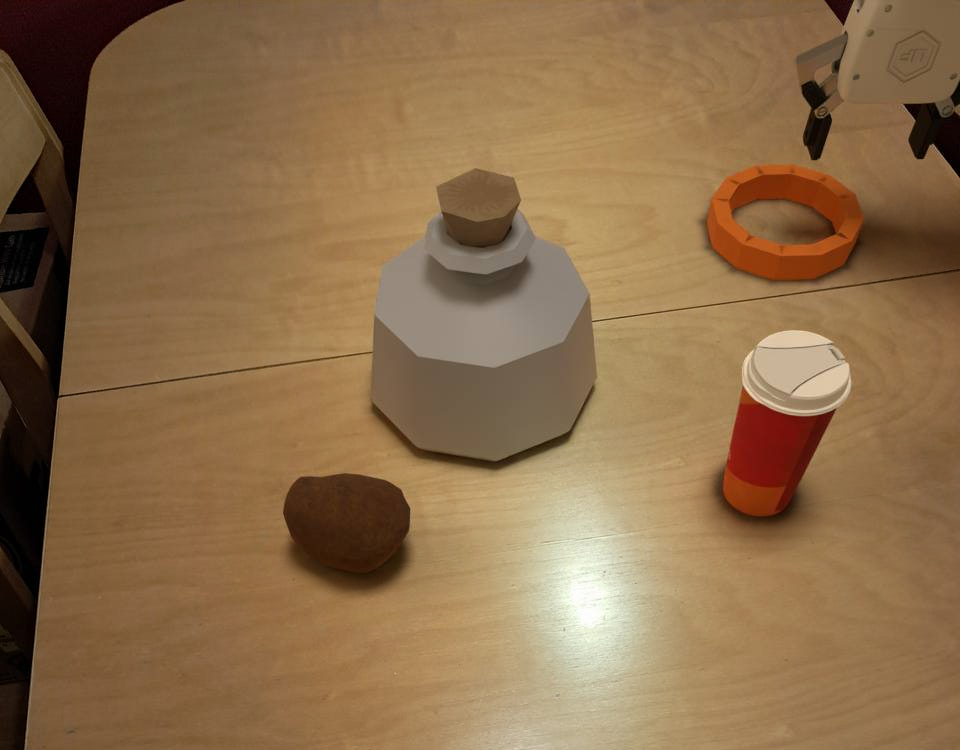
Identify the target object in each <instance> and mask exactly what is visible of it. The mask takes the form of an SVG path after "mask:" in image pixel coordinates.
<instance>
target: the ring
mask: <svg viewBox="0 0 960 750" xmlns="http://www.w3.org/2000/svg"><path fill="white" fill-rule="evenodd" d="M782 199H784V200H788V201H791V202H795V203H799V204H802V205H805V206H809V207H812V208H813V209H815V210H816V211H817V212H819V213H820V214H821V215H822V216H823V217H825V218H826V219H828V220H829V221H830V222H832V226H833V228H834V232H835V234H833V235H831V236H829V237H826V238H824V239H822V240H820V241H818V242H815V243H812V244H811V243H810V244H809V243H808V244H807V243H805V244H780V243H776V242H774V241H771V240H768V239H764V238H760V237H757V236H755V235H753V234H751V233H750V232H749V231H747V230H746V229H745V228H744V227H743V226H741V225H740V224H739V223H738V222H736V221H735V220H734V218H733V217H734V216H733V215H732V213H733V211H734V210H735V209H737V208H740V207H742V206H744V205H746V204H749V203H751V202H753V201H756V200H782ZM864 220H865V217H864V214H863V211H862V209H861V205H860V203H859V200H858V197H857V195H856V193H855V192H853V191H852V190H850V189H849V188H848V187H846V186H845V185H844V184H843V183H841V182H840V181H838V180H837V179H835V178H834V177H833V176H832V175H830V174H829V173H825V172H821V171H817V170H814V169H810V168H806V167H803V166H799V165H797V164H792V163H791V164H759V165H757V164H756V165H753V166H751V167H749V168H745V169H743V170H741V171H739V172H736V173H734V174H732V175H729V176H727V177H725V178H724V180H723V182H722V183H721V184H720V185H719V187H718V189H717V190H716V192H715V193H714V194H713V196H712V198H711V201H710V206H709V211H708V215H707V221H706V227H707V230H708V235H709V240H710V244H711V247H712V249H714V251H716V252H717V253H718V254H719V255H720V256H722V257H723V258H724V259H725V260H726V261H727V262H728V263H730V264H731V265H732V266H733V267H734V268H735V269H738V270H739V271H744V272H747V273H749V274H753V275H756V276H759V277H763V278H766V279H768V280H772V281H797V280H798V281H799V280H800V281H801V280H803V281H804V280H815V279H818V278H819V277H822V276H824V275H826V274H828V273H830V272H832V271H835V270H836V269H839V268H841V267H843V266H844V265H845V263H846V261H847V260H848V258H849V256H850V255H851V253H852V250H853V249H854V247H855V245H856V243H857V241H858V237H859V234H860V231H861V229H862V226H863V224H864Z"/></svg>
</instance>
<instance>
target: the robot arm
mask: <svg viewBox="0 0 960 750" xmlns="http://www.w3.org/2000/svg"><path fill="white" fill-rule="evenodd" d="M793 64H794V68H795V72H796V77H797V81H798V86H799V90H800V92H801V94H802V97H803V99H804V100H805V101H806V102H807V104H808V105H809V107H810V110H809V113H808V118H807V121H806V123H805V126H804V131H803V134H802V143H803V145H804V147H806V148H807V151H808V154H809V157H810V161H818V160H819V159H821V157H822V155H823V151H824V149H825V145H826V143H827V140H828V137H829V136H828V135H829V133H830V130H831V127H832V124H833V118H832V115H831V113H832V112H833V111H834V110H836V109H837V108H838V107H839V106H840V105H841V104H843V103H844V102H847V103H850V104H853V105H854V104H856V105H908V104H909V105H913V104H919V105H920V104H921V106H920V109H919V111H918V114H917V116H916V118H915V121H914V123H913V126H912V129H911V131H910V134H909V136H908V138H907V141H908V145H909V147H910V149H911V152H912V154H913V156H914V158H916V160H924V159H925V157H926V155H927V152H928V150H929V149H930V146H932V145H934V143H935V141H936V139H937V136H938V134H939V132H940V129H941V128H942V125H943V123H944V120H945V118H948V117H950V116H952V115H953V113H954V112H955V109H956V107H958V106H959V105H960V0H853V2H852V4H851V6H850V9H849V12H848V15H847V17H846V20H845V22H844V25H843V27H842V30H841V32H840V35H838V36H836V37H834V38H831V39H830V40H827V41H826V42H824V43H822V44H821V43H820V44H819V45H817V46H814V47H813V48H811V49H808V50H807V51H804V52H802V53H800V54H798V55H796V57H795V58H794V60H793ZM830 64H831V65H830ZM828 65H830V70H831V73H830V74H829V75H828V76H827V77H825V79H823V80H822V81H821V82H820V83H819V84H818V83H817V81H816V80H815V73H816V71H817V70H819V69H821V68H823V67H826V66H828Z"/></svg>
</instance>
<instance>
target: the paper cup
mask: <svg viewBox="0 0 960 750" xmlns="http://www.w3.org/2000/svg"><path fill="white" fill-rule="evenodd" d="M846 358H847V357H845V355H844V354H843V353H842V352H841V350H840V349H839V348H838V347H835V343H834V341H832V340H830V339H829V338H827V337H825V336H823V335H820V334H818V333H815V332H811V331H807V330H801V329H799V330H798V329H791V330H781V331H778V332H775V333H772V334H769V335H768V336H766V337H764V338H763V339H762V340H760V342H758V343H757V344H756V346H755V347H754V348H753V349H752V350H750V352H749V353H748V354H747V356H746V357H745V358H744V361H743V363H742V367H741V384H742V388H741V391H740V397H739V401H738V407H737V410H736V416H735V421H734V425H733V429H732V435H731V439H730V443H729V447H728V448H729V449H728V453H727V460H726V463H725V464H726V465H725V469H724V474H723V479H722V493H723V495H724V498H725V500H726V501H727V502H728V503H729V504H730V505H731V506H732V507H733V508H734V509H736V510H737V511H739V512H741V513H743V514H746V515H749V516H752V517H753V516H754V517H770V516H773V515H776V514H778V513H780V512H783V510H784V509H785V508H787V506H788V504H789V503H790V502H791V500H792V498H793V496H794V494H795V492H796V491H797V488H798V486H799V484H800V483H801V481H802V480H803V479H802V478H803V477H804V475H805V473H806V471H807V469H808V467H809V465H810V463H811V461H812V459H813V457H814V455H815V453H816V452H817V449H818V447H819V445H820V443H821V441H822V439H823V437H824V435H825V433H826V431H827V429H828V427H829V425H830V423H831V421H832V419H833V417H834V415H835V413H836V411H837V409H838V407H840V406H841V405H843V403H844V402H845V401H846V400H847V398H848V397H849V395H850V393H851V389H852V377H851V368H850V363H849V362H846Z"/></svg>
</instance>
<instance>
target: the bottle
mask: <svg viewBox="0 0 960 750" xmlns="http://www.w3.org/2000/svg"><path fill="white" fill-rule="evenodd" d="M435 190H436V194H437V198H438V202H439V207H440V212H438V213H437V214H436V215H434V216H433V217H432V218H431V219H430V221H428V223H427V224H426V230H425V235H424V236H423V237H421V238H420V239H419V240H417V241H415V242H414V243H413V244H411V245H410V246H407V248H405V249H404V250H402V251H401V252H399V253H398V254H396V255H394V256H393V257H392V258H391V259H389V260H387V261H386V262H385V263H383V264H382V265H381V271H380V276H379V284H378V290H377V295H376V301H375V307H374V312H373V313H374V314H373V333H372V335H373V336H372V356H371V358H372V360H371V375H370V376H371V378H370V401H371V402H372V403H373V404H374V405H375V406H376V407H377V408H378V409H379V410H380V411H381V412H382V413H383V415H385V416H386V417H387V419H388V420H389V421H391V422H392V424H393V425H394V426H395V427H396V428H397V429H398V430H399V431H400V432H401V433H402V434H403V435H404V436H405V437H406V438H407V439H408V440H409V441H410V442H411V443H412V445H414V447H416V448H417V449H420V450H422V451H425V452H433V453H439V454H445V455H450V456H456V457H457V456H458V457H464V458H469V459H475V460H481V461H486V462H487V461H489V462H494V463H496V462H499V461H501V460H504V459H506V458H509V457H511V456H514V455H516V454H519V453H521V452H524V451H526V450H529V449H531V448H534V447H537V446H538V445H541V444H543V443H546V442H549V441H551V440H554V439H556V438H558V437H562V436H563V435H565V434H567V433H569V432H570V431H571V430H572V427H573V425H574V423H575V422H576V420H577V417H578V415H579V413H580V412H581V410H582V408H583V405H584V403H585V402H586V400H587V397H588V395H589V394H590V392H591V390H592V388H593V386H594V384H595V382H596V380H597V378H598V371H597V359H596V350H595V349H596V348H595V347H596V346H595V338H594V327H593V316H592V314H593V313H592V305H591V294H590V291H589V290H588V288H587V286H586V284H585V283H584V281H583V279H582V277H581V275H580V273H579V271H578V270H577V268H576V266H575V264H574V263H573V261H572V259H571V257H570V255H569V253H568V251H567V249H566V248H565V247H564V246H561V245H559V244H556V243H553V242H551V241H548V240H546V239H543V238H541V237H539V236H536V235H535V233H534V231H533V230H532V228H531V225H530V224H529V222H528V220H527V217H526V216H525V215H524V213H523V212H521V211H520V209H518V208H519V206H520V204H521V201H522V198H521V194H520V192H519V188H518V185H517V182H516V179H515V177H513V176H509V175H505V174H502V173H497V172H493V171H489V170H485V169H481V168H476V167H474V168H472V169H470V170H468V171H466V172H464V173H462V174H460V175H458V176H456V177H453V178H451V179H449V180H447V181H445V182H443V183H441V184H439V185H436V186H435Z"/></svg>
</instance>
